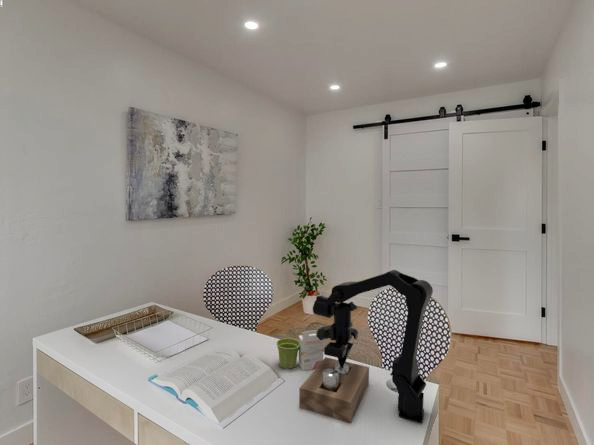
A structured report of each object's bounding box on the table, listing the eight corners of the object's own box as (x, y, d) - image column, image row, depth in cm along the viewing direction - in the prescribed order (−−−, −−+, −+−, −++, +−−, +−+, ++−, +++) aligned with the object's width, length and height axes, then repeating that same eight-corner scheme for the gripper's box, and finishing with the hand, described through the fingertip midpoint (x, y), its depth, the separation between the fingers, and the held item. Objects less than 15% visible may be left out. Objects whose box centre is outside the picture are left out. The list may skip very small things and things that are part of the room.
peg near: (340, 389, 98) (340, 371, 98) (335, 397, 94) (335, 378, 94) (326, 385, 101) (326, 367, 100) (320, 393, 96) (320, 374, 96)
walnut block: (368, 384, 109) (369, 367, 109) (350, 423, 89) (350, 402, 89) (325, 373, 116) (325, 357, 116) (299, 407, 96) (299, 388, 96)
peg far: (350, 380, 108) (350, 364, 108) (346, 388, 104) (346, 370, 104) (337, 377, 111) (337, 361, 110) (332, 384, 106) (332, 367, 106)
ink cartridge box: (318, 361, 124) (319, 325, 124) (323, 368, 120) (323, 329, 119) (298, 364, 122) (298, 327, 121) (301, 371, 117) (302, 332, 117)
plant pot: (300, 360, 126) (301, 338, 125) (298, 372, 116) (299, 349, 116) (277, 358, 127) (278, 337, 126) (273, 370, 117) (274, 347, 117)
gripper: (329, 309, 118) (329, 350, 119) (309, 326, 101) (308, 373, 102) (358, 313, 113) (358, 356, 114) (342, 332, 97) (342, 381, 97)
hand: (341, 366), depth 107 cm, fingers closed, pressing on peg far
